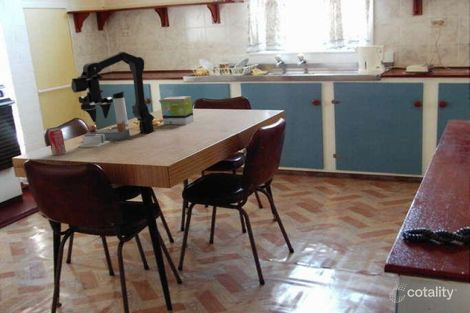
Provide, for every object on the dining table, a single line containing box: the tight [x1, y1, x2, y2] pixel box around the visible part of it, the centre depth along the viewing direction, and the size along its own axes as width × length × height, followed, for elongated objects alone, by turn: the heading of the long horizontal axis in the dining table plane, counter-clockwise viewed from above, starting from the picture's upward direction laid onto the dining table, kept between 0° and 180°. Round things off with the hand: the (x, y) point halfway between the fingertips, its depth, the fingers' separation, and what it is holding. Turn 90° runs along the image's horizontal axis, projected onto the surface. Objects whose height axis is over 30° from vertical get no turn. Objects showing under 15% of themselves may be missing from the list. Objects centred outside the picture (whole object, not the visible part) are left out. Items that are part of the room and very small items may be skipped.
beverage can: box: [47, 127, 67, 156], centre depth 244 cm, size 6×6×12 cm
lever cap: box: [81, 133, 107, 145], centre depth 259 cm, size 10×5×5 cm, turn 67°
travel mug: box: [112, 91, 129, 127], centre depth 303 cm, size 6×7×20 cm
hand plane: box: [85, 122, 131, 141], centre depth 271 cm, size 22×7×8 cm, turn 67°
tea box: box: [160, 95, 195, 125], centre depth 295 cm, size 15×10×15 cm
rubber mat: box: [78, 140, 111, 148], centre depth 260 cm, size 12×10×1 cm
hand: (100, 120), depth 261 cm, fingers open, 9 cm apart
